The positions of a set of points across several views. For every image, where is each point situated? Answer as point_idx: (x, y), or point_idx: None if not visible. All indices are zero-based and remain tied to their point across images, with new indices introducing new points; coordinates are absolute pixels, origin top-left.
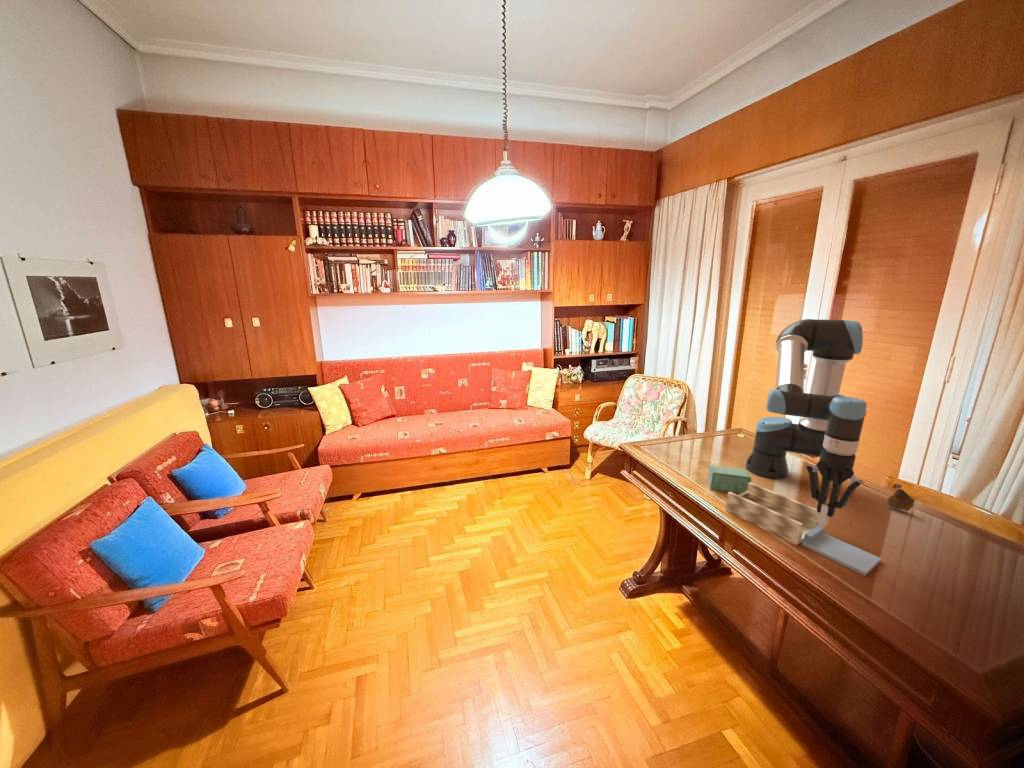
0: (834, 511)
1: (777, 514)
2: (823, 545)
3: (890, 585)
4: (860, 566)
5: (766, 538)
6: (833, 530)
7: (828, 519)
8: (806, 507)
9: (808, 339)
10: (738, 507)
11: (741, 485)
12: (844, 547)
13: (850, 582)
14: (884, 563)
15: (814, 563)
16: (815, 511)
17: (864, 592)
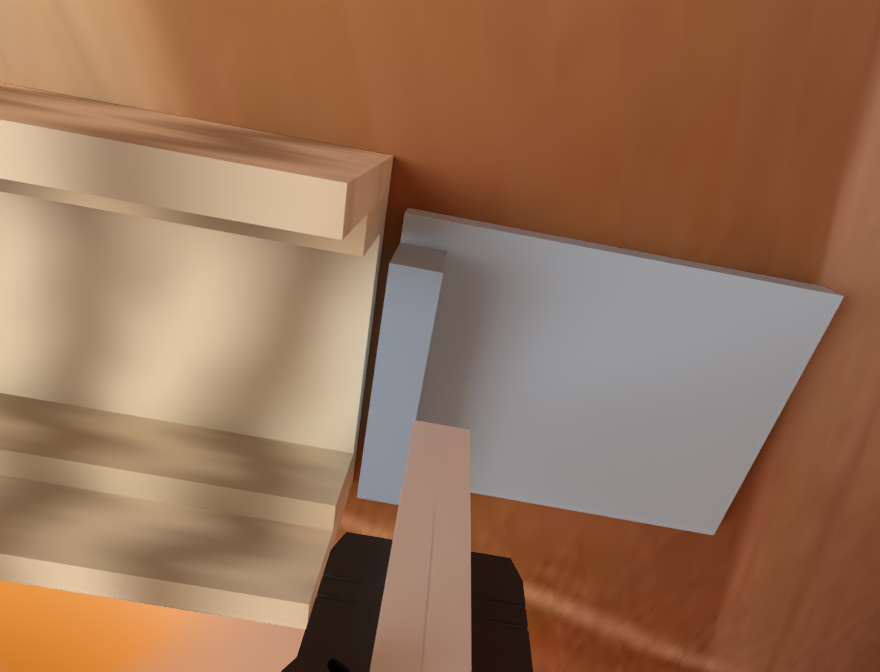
0: (524, 644)
1: (108, 595)
2: (479, 416)
3: (820, 515)
4: (690, 495)
5: None
6: (498, 13)
7: (468, 474)
8: (178, 208)
9: None
10: None
11: None
12: (602, 335)
13: (633, 610)
14: (847, 294)
15: None
16: (292, 225)
17: (687, 637)
